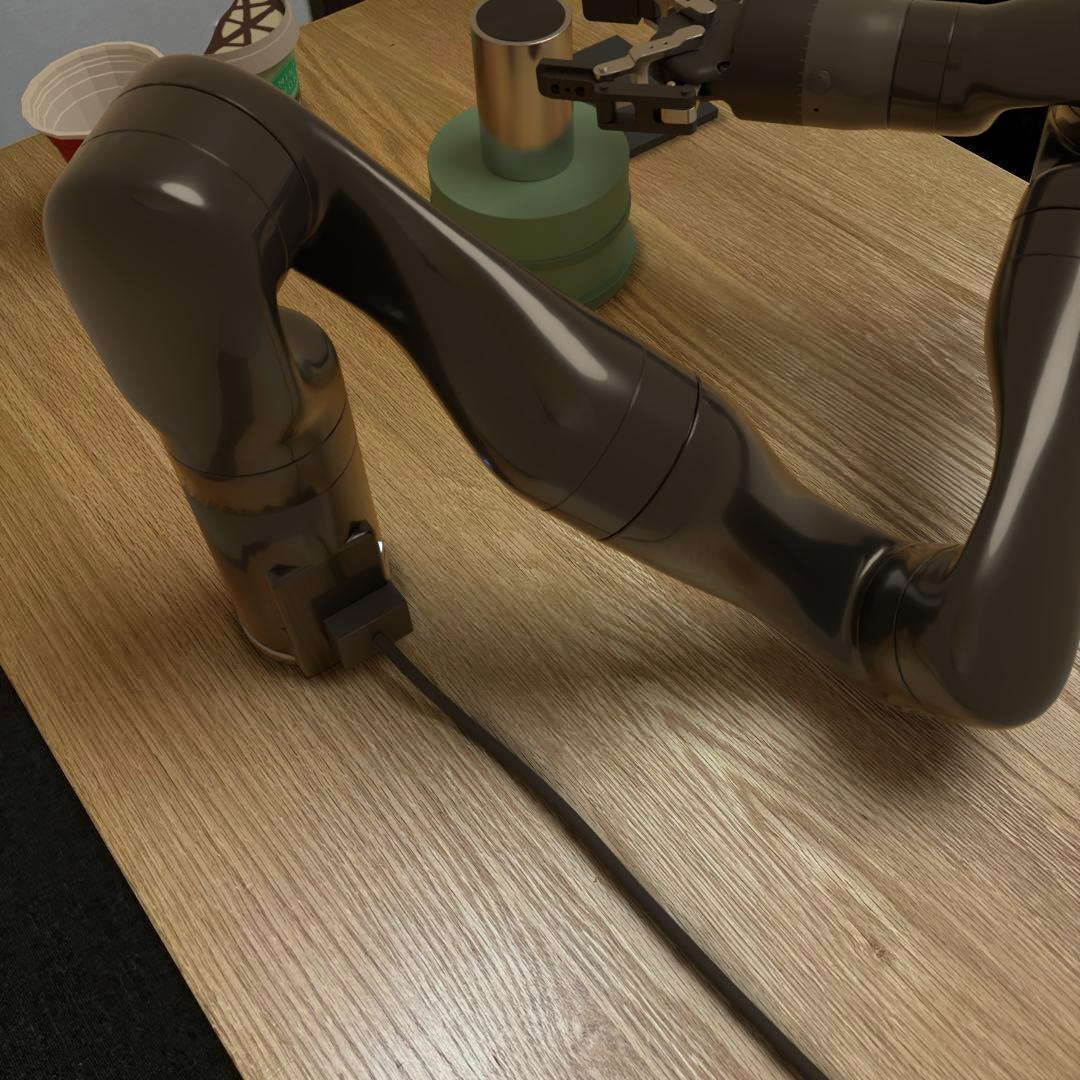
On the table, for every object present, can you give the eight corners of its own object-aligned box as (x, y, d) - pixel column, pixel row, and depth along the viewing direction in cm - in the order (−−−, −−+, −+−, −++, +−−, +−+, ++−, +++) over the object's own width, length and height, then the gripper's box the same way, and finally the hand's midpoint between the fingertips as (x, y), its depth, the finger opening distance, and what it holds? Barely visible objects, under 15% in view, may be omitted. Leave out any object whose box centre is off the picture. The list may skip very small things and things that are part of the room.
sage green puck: (676, 268, 88) (683, 165, 81) (504, 356, 83) (496, 255, 76) (558, 167, 96) (555, 64, 88) (395, 242, 91) (378, 140, 84)
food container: (295, 176, 96) (268, 63, 88) (222, 171, 97) (189, 59, 89) (334, 88, 103) (312, -24, 95) (266, 84, 104) (239, -28, 96)
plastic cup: (61, 202, 95) (0, 66, 86) (190, 160, 98) (146, 23, 88) (96, 282, 90) (35, 145, 80) (232, 235, 92) (190, 97, 82)
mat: (718, 116, 99) (718, 108, 98) (601, 171, 95) (601, 163, 94) (617, 42, 106) (617, 34, 105) (504, 90, 102) (504, 82, 102)
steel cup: (592, 158, 82) (592, 20, 74) (515, 194, 80) (506, 56, 72) (539, 114, 85) (534, -23, 77) (464, 147, 83) (450, 10, 75)
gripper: (790, 188, 69) (530, 157, 74) (841, 50, 76) (602, 31, 81) (796, 69, 63) (512, 45, 68) (851, -67, 70) (592, -80, 75)
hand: (562, 37), depth 75 cm, fingers open, 8 cm apart
